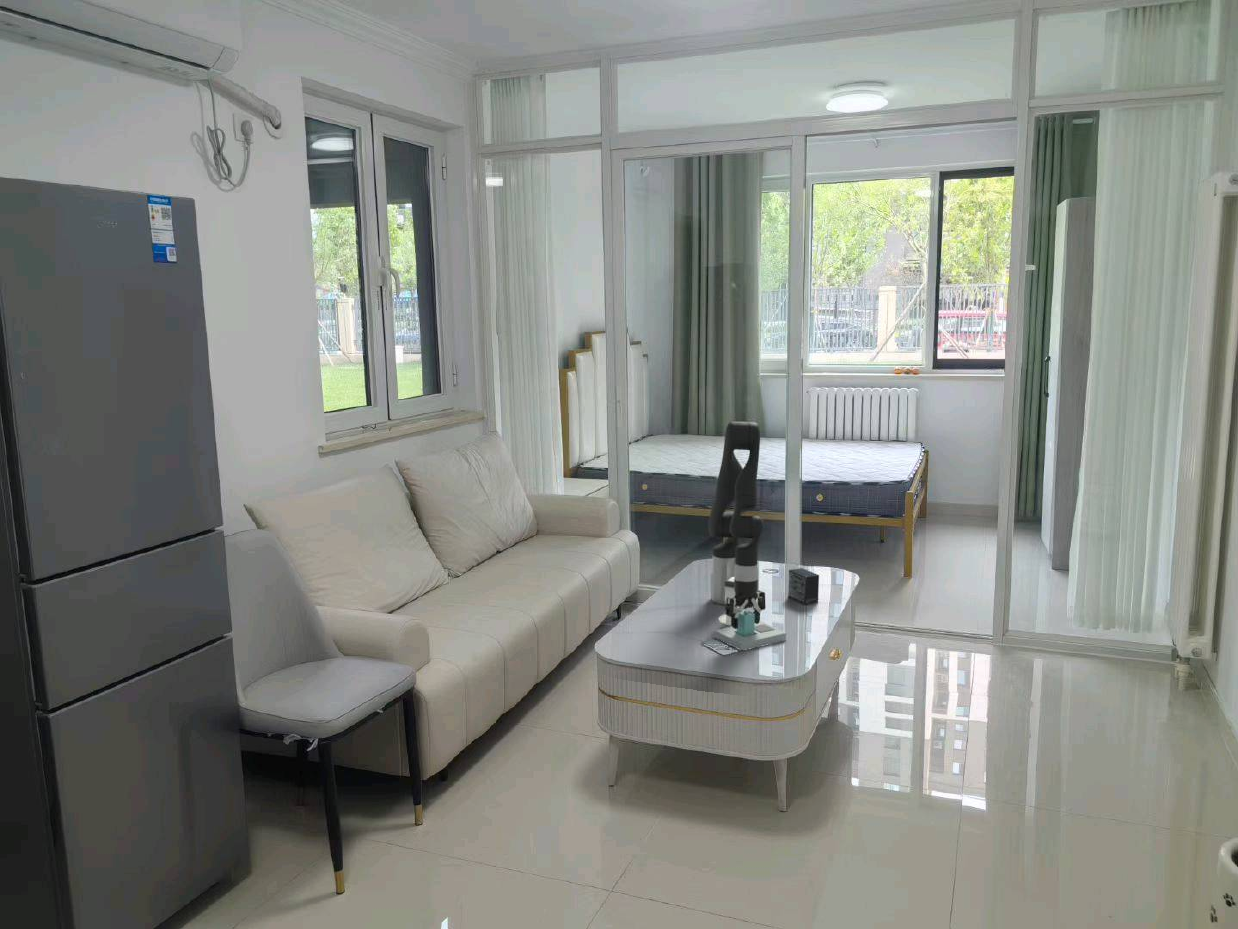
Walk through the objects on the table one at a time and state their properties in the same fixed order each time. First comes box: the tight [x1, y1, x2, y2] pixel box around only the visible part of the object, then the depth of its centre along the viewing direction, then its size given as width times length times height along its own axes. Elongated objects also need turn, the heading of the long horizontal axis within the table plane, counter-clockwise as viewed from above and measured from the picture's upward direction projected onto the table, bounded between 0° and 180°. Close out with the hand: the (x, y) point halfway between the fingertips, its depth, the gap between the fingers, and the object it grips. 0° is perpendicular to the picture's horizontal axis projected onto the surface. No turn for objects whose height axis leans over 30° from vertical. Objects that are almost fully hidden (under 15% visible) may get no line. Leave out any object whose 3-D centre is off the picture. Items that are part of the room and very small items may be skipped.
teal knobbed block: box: [737, 609, 755, 637], centre depth 300 cm, size 4×4×10 cm
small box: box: [787, 567, 820, 606], centre depth 339 cm, size 11×6×10 cm, turn 25°
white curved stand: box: [718, 577, 744, 627], centre depth 318 cm, size 12×11×15 cm
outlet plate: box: [714, 620, 787, 651], centre depth 301 cm, size 14×18×3 cm
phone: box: [700, 638, 736, 650], centre depth 294 cm, size 6×12×1 cm, turn 30°
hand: (745, 625), depth 300 cm, fingers open, 8 cm apart
